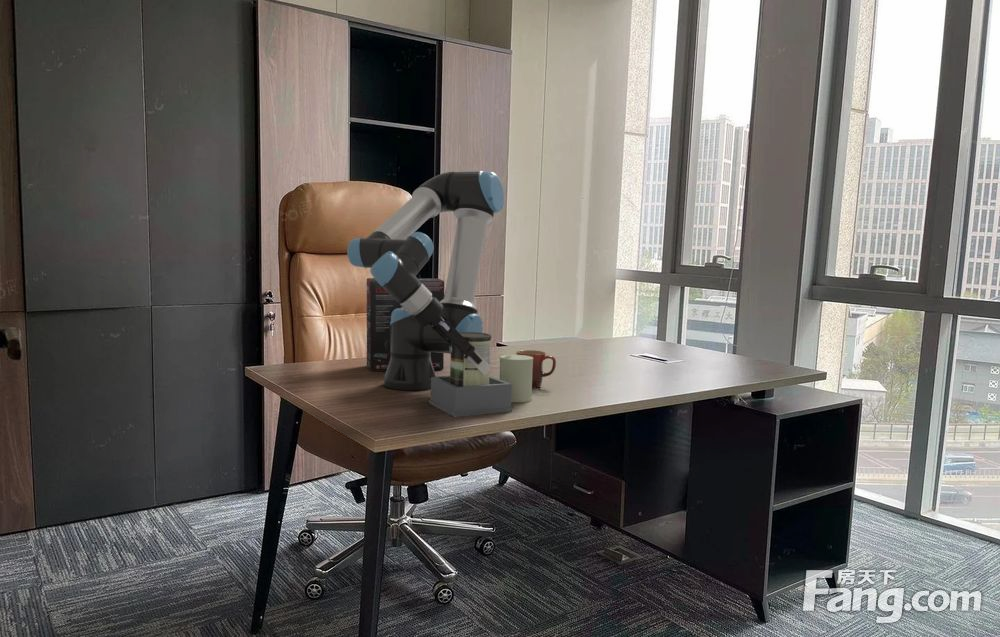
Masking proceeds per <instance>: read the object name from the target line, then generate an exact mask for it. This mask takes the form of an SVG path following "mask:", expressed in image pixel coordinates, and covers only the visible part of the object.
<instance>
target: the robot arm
mask: <svg viewBox="0 0 1000 637" xmlns="http://www.w3.org/2000/svg"><path fill="white" fill-rule="evenodd" d="M504 196H505V195H504V188H503V184H502V182H501V179H500V177H499V176H498V175H497V174H496V173H495V172H493V171H485V170H480V171H447V172H444V173H440V174H438V175H434V177H432V178H430V179H428V180H426V181H425V182H424V183H422V184H420V185H419V187H417V188H416V189H415V190H414V191H413V192H412V195H411V198H409V200H408V201H407V202H406V203H404V204H403V205H402V206H401V207H400V208H398V209H397V210H396V211H395V212H394V213H393V214H392V215H391V216H390V217H389V218H387V219H386V220H385V221H384V222H383V223H382V224H380V226H378V227H377V228H376V229H374V231H373V232H371V233H370V234H369V235H368V236H366V237H365V238H364V237H360V238H352V240H350V242H349V243H348V246H347V249H346V250H347V251H346V252H347V257H348V261H349V263H350V264H351V265H352V266H354V267H358V268H359V267H360V268H364V269H367V268H369V269H370V270H369V272H370V275H372V277H373V278H375V279H376V280H377V282H378V283H379V284H380V285H381V286H382V287H383V288H384V289H385V290H386V291H387V292H388V293H389V294H390V295H391V296H392V297H393V298H394V299H395V300H396V301H397V302H398V303H399V304H400V305H402V308H398V309H395V310H394V311H393V312H392V315H391V323H390V325H391V358H390V362H389V365H388V368H387V371H385V374H384V377H383V386H384V387H386V388H388V389H392V390H398V391H399V390H400V391H421V390H431V377H437V375H436V371H435V369H433V366H432V362H431V352H438V353H444V354H449V355H451V342H453V343H454V344H455V345H456V346H457V347H458V348H459V349H460V350H461V351H462V352H463V353H464V354H465V356H464V358H465V359H466V358H468V359H469V360H470V361H471V362H472V363H473V364H474V365H475V366H476V368H477V369H478V370H479V371H480V372H481V373H482V374H483V375H485V374H486V373H487V372H488V371H489V370H491V369H492V368H493V367H492V366H491V364H490V365H489V364H488V363H487V362H486V361H485V360H484V359H483V358H482V357H481V356H480V354H479V353H478V352H477V351H476V350H475V347H474V346H472V345H471V344H470V343H469V342H468V341H467V340H466V339H465V338H464V337H463V336H462V335H461V334H460V333H459V332H476V333H484V326H483V319H482V318H481V316H480V315H479V314H478V312H479V311H478V308H477V306H475V297H476V291H477V285H478V280H479V273H480V268H481V262H482V255H483V249H484V243H485V237H486V230H487V226H488V225H489V224H490V223H492V222H493V220H494V215H495V214H497V213H499V212H501V211H502V209H503V206H504V203H505V199H504V198H505V197H504ZM446 212H453V215H454V216H455V218H456V219H457V220H456V225H455V226H456V228H455V233H454V237H453V243H452V244H453V245H452V250H451V256H450V262H449V268H448V273H447V279H446V283H445V284H446V285H445V288H444V299H443V300H441V301H440V302H439V301H438V300H437V299H436V298H435V297H432V293H431V292H430V291H429V290H428V289H427V288H426V287H425V286H424V285H423V283H421V282H420V281H419V279H418V278H417V277H416V275H417V274H418V272H419V273H420V271H421V270H422V269H423V267H424V266H425V265H426V264H427V263H428V262H429V261H430V258H431V256H432V255H433V254H434V249H435V246H434V242H433V241H432V239H431V238H430V236H428V235H427V234H425V233H423V232H421V231H418V229H419V228H421V226H422V225H423V224H425V222H426V221H428V220H429V219H432V218H435V217H437V216H439V214H441V213H446ZM468 348H469V349H468ZM467 349H468V350H467ZM466 350H467V351H466Z"/></svg>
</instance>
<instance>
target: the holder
mask: <svg viewBox="0 0 1000 637" xmlns="http://www.w3.org/2000/svg"><path fill="white" fill-rule="evenodd" d="M511 393H512V384H511V383H508V382H505V381H503V380H500V378H497V377H494V376H491V375H489V385H476V386H462V387H458V386H455V385H453V384H451V383H450V375H443V376H442V375H441V376H436V377H431V388H430V399H428V404H429V405H431V406H433V407H434V408H437V409H438V410H441V411H443V412H445V413H446V414H448V415H450V416H452V417H454V418H456V417H459V418H460V417H469V416H479V415H488V414H489V415H490V414H491V415H492V414H500V413H501V414H502V413H510V412H511V413H512V411H513V410H514V408H513V407H512V402H511ZM513 412H514V411H513Z"/></svg>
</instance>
